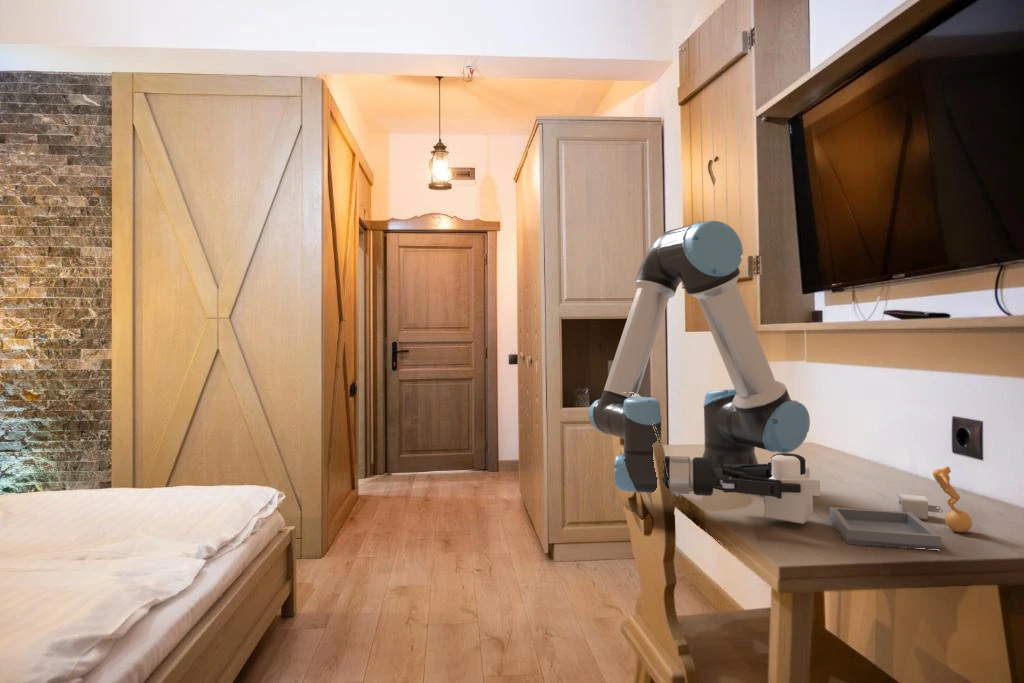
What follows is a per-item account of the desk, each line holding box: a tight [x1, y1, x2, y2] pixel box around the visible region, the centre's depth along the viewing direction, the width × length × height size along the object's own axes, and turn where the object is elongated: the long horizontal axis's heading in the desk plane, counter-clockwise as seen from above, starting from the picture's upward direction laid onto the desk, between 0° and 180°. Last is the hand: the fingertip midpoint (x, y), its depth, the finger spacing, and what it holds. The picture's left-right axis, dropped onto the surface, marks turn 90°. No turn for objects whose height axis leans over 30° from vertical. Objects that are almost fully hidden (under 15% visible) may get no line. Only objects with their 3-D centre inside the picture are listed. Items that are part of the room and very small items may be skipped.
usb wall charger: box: [898, 493, 944, 521], centre depth 120 cm, size 4×7×4 cm, turn 65°
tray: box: [829, 507, 942, 551], centre depth 110 cm, size 14×14×2 cm
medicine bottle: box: [763, 452, 814, 525], centre depth 117 cm, size 7×7×12 cm
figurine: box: [932, 466, 973, 533], centre depth 111 cm, size 8×6×12 cm
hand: (813, 481), depth 116 cm, fingers closed on medicine bottle, 9 cm apart
